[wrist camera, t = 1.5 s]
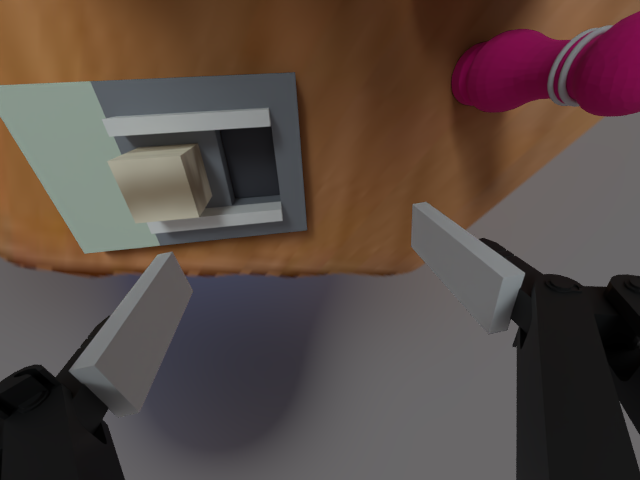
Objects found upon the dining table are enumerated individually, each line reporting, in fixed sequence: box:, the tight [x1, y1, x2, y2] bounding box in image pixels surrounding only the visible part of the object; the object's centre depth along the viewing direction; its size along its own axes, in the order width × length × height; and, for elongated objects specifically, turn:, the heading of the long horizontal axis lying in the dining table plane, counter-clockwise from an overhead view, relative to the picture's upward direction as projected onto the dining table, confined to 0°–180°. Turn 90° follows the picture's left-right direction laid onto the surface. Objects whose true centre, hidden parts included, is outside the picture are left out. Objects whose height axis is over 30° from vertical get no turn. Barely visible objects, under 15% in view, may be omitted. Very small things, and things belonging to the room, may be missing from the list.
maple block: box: [107, 143, 212, 223], centre depth 27 cm, size 6×6×6 cm
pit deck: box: [0, 72, 307, 253], centre depth 29 cm, size 18×28×5 cm, turn 92°
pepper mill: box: [451, 11, 640, 116], centre depth 22 cm, size 7×7×20 cm
